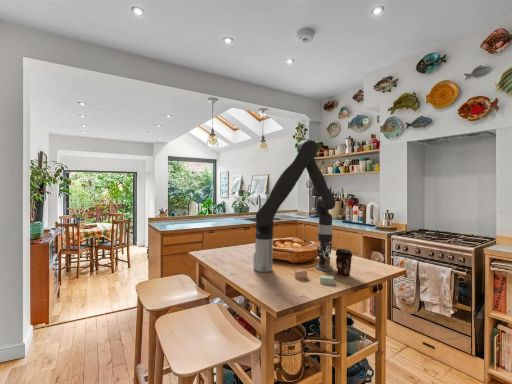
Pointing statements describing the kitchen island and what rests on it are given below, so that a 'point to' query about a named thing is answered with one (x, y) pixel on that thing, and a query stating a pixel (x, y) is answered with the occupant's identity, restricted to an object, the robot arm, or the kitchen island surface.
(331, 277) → the sage block
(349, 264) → the coffee cup
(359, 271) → the kitchen island surface
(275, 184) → the robot arm
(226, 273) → the kitchen island surface
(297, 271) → the small brown block
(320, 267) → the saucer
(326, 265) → the walnut block
